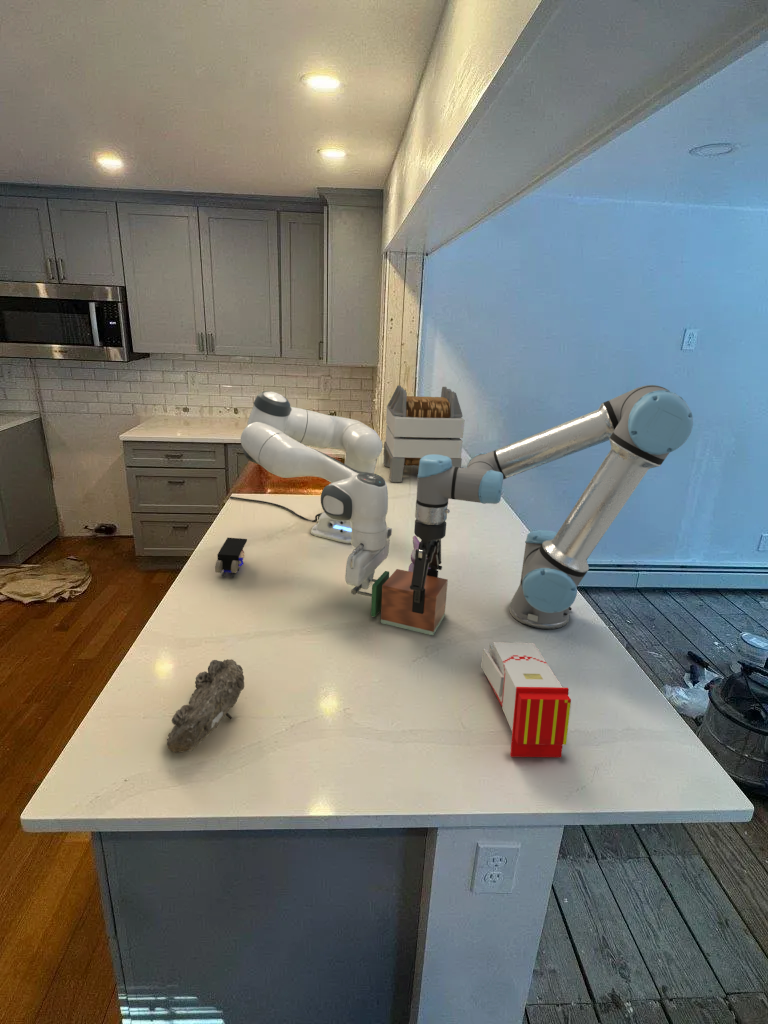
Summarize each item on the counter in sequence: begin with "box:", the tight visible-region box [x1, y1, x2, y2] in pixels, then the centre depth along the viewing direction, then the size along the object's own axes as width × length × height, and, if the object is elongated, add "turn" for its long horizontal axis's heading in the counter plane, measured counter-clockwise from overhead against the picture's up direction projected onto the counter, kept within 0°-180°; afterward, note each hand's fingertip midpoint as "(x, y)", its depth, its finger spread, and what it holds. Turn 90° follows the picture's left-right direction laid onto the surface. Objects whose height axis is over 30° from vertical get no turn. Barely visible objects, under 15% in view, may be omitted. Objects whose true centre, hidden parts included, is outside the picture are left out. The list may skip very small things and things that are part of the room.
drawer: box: [350, 570, 390, 618], centre depth 146 cm, size 18×9×9 cm, turn 69°
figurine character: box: [214, 537, 248, 578], centre depth 166 cm, size 7×8×15 cm
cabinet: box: [380, 568, 449, 636], centre depth 143 cm, size 14×10×11 cm
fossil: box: [166, 658, 245, 754], centre depth 106 cm, size 22×10×15 cm
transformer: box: [383, 384, 465, 483], centre depth 268 cm, size 34×33×41 cm
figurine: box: [407, 535, 431, 572], centre depth 161 cm, size 9×10×15 cm
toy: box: [480, 641, 572, 758], centre depth 113 cm, size 12×13×30 cm
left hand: (366, 586), depth 147 cm, fingers closed
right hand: (424, 602), depth 142 cm, fingers closed on cabinet, 10 cm apart
